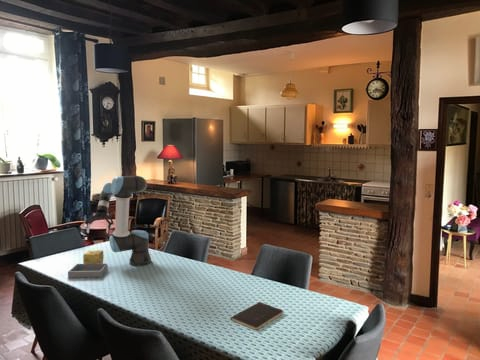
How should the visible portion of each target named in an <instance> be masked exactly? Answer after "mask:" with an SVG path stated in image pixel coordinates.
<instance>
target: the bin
mask: <svg viewBox="0 0 480 360" xmlns="http://www.w3.org/2000/svg"><path fill="white" fill-rule="evenodd" d="M108 267H109V266H108V263H103V264H83V263H76V264H75V265H74V266H72V268H70V269H69V270H68V271H67V279H69V280H70V279H73V280H74V279H101V278H102V277H103V276H104V275H105V274H106V272H108Z"/></svg>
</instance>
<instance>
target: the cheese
mask: <svg viewBox="0 0 480 360" xmlns="http://www.w3.org/2000/svg"><path fill="white" fill-rule="evenodd" d="M104 256H105V255H104V250H102V249H100V250H87V251H86V252H85V253H83V256H82V258H83V259H82V261H83V262H82V264H104Z"/></svg>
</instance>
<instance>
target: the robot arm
mask: <svg viewBox="0 0 480 360" xmlns="http://www.w3.org/2000/svg"><path fill="white" fill-rule="evenodd" d="M147 187H148V181H147V180H146V178H144V177H142V176H140V175H126V176H124V175H123V176H121V175H119V176H114V178H113V179H112V181H111V182H107V183H105V184H104V185H103V187H102V190H101V192H100V196H99V200H98V204H97V209H96V212H93V211H92V212H91V214H90V215H89V217H87V219H86V220H85V221H84V224H85V225H86V226H85V227H86V233H87V234H89V233H90V229H91V224H93V223H94V222H95V221H97V220H98V219H99V220H103V219H104V221H106V222H107V225H106V230H105V232H106V234H108V233H109V230H110V229H111V227H112V225H114V230H113V231H112V234H111V235H110V236H109V238H108V239H109V240H108V242H109V245H110V249H111V251H112V252H113V253H120V252H126V251H131V254H130V257H129V264H130V265H132V266H137V267H138V266H146V265H149V264H151V263H152V257H151V254H150V252H149V251H150V250H149V232H147V231H146V230H140V229H134V230H131V231H129V216H130V215H129V214H130V213H129V212H130V199H131V198H132V197H133V194H137V193H142V192H144V191H145V190H147ZM112 196H113V197H114V198H115V199H116V200H115V221H114V220H113V218H112V213H111V212H108V211H109V210H108V209H109V205H110V201H111V198H112ZM107 216H108V217H109V219H108V218H107ZM114 222H115V224H114Z"/></svg>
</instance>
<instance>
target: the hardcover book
mask: <svg viewBox="0 0 480 360" xmlns="http://www.w3.org/2000/svg"><path fill="white" fill-rule="evenodd" d="M283 312H284V310H283V309H280V308H277V307H275V306H272V305H269V304H266V303H264V302H261V301H258V302H257V303H255V304H253V305H252V306H250V307H247V308H245V309H244V310H241V311H240V312H238V313H236V314H234V315H233V316H231V317H230V320H231V321H233V322H236V323H237V324H240V325H242V326H245V327H247V328H249V329H252V330H253V331H257V330H259V329H260V328H262V327H263V326H265V325H267V324H268V323H270V322H272V321H273V320H274V319H277V318H278V317H279V316H281V315H283Z"/></svg>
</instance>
